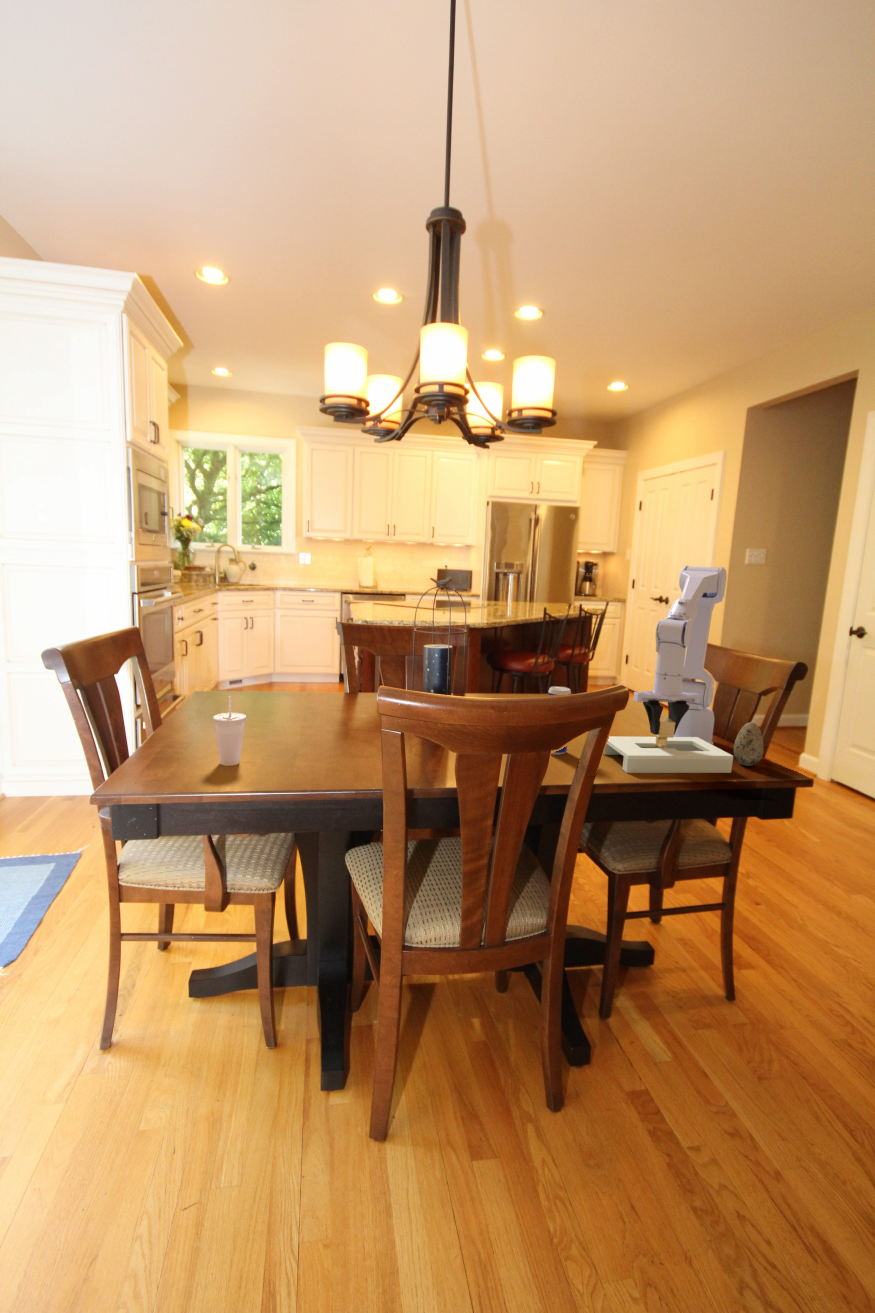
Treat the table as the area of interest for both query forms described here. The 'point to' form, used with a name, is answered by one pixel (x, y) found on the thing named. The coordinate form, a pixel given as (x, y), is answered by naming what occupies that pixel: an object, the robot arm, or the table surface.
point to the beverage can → (559, 691)
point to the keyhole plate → (669, 755)
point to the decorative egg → (749, 745)
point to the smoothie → (229, 736)
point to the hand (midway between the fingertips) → (662, 733)
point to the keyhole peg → (664, 732)
